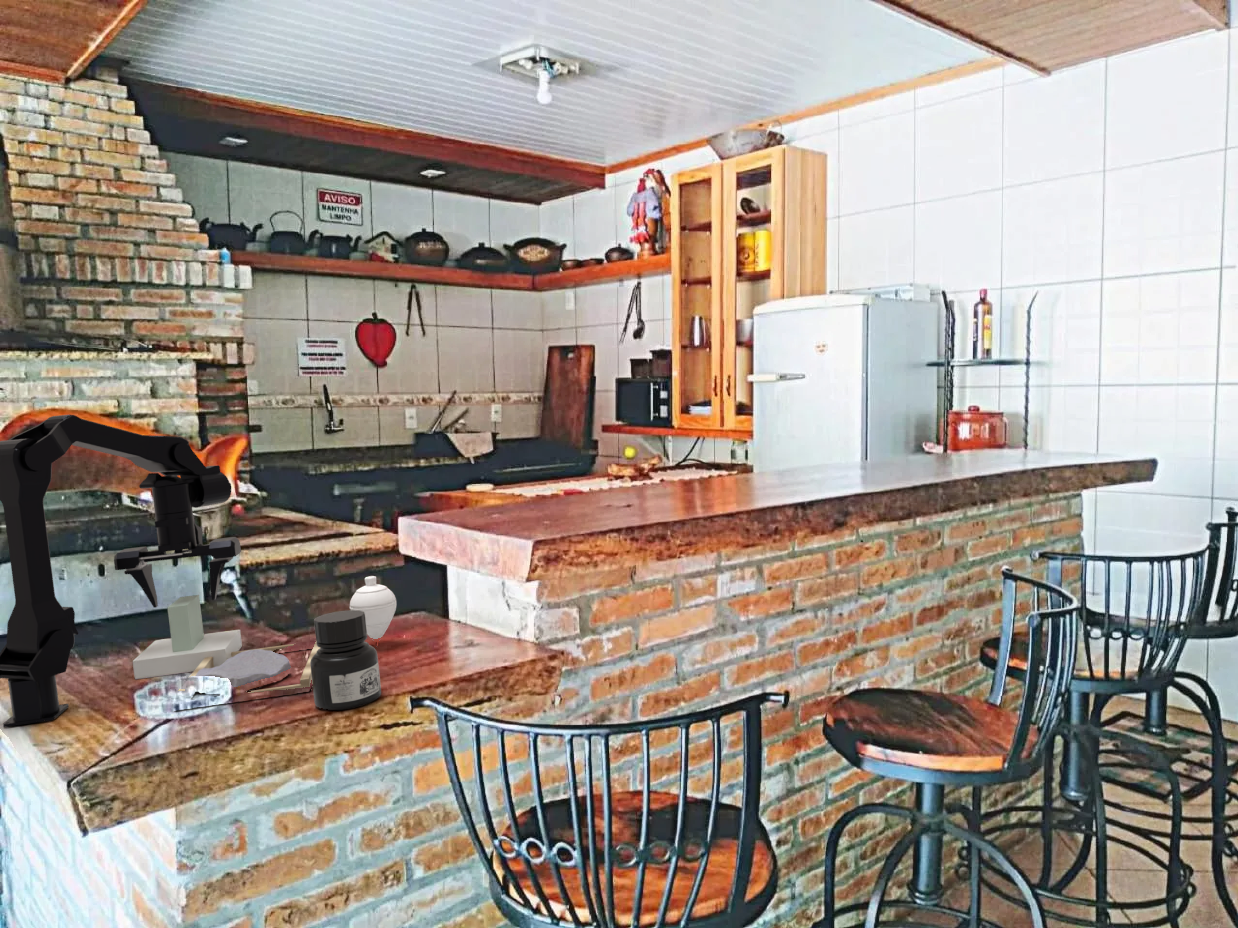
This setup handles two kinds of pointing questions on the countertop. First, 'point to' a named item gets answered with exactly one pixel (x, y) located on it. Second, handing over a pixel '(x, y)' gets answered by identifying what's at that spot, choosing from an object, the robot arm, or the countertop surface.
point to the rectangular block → (185, 623)
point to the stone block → (249, 667)
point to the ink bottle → (344, 662)
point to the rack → (306, 674)
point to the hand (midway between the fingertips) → (185, 603)
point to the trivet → (185, 655)
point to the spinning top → (374, 606)
